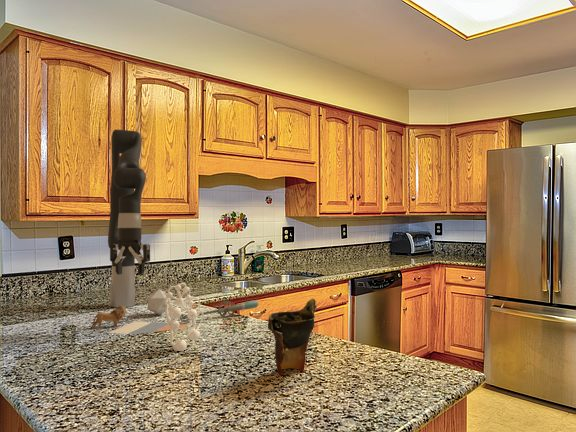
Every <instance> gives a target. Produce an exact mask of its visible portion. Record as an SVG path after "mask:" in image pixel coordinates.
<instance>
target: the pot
mask: <svg viewBox="0 0 576 432" xmlns="http://www.w3.org/2000/svg"><path fill="white" fill-rule="evenodd" d="M316 309H317V302H316V299H315V298H310V299H309V300H308V301H306V304H305V306H303V308H301V309H299V310H292V311H278V312H274V313H273V312H272V313H270V315H269V316H268V321H267V322H268V323H267V328H268V330H269V331H271V332H272V335H273V336H274V339H275V340H274V341H275V342H274V343H275V344H274V355H275V356H274V357H275V364H276V370H277V374H279V375H280V376H283V374H284V371H283V370H287V369H297V370H300V371H303V372H304V371H305V367H306V353H307V350H308V346H309V341H310V338H311V334H312V332H313V330H314V327H316V326H315V319H316V315H315V313H316Z"/></svg>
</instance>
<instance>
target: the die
mask: <svg viewBox="0 0 576 432" xmlns="http://www.w3.org/2000/svg"><path fill="white" fill-rule="evenodd" d="M167 293H168V292H165V291H163V290H161V289H158V290H155V292H153V293H152V294H149V295H148V299H147V300H148V301H147V310H149V311H150V312H153V313H155V314H156V315H158V316H161V315H162V314H165V309H166V305H165V302H164V301H165V298H166V294H167ZM171 300H172V298H167V300H166V303H168V302H172V301H171ZM170 309H171V308H168V311H170Z"/></svg>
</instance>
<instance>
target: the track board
mask: <svg viewBox="0 0 576 432" xmlns="http://www.w3.org/2000/svg"><path fill="white" fill-rule="evenodd" d="M118 323H128V324H125V325H123V326H121V327H118V328H116V329H113V330H111V331H98V330H97V331H96V330H90V331H89V333H104V334H122V335H123V334H125V335H126V334H127V335H140V334H147V333H153V332H162V331H169V330H171V328H170V325H169V323H168V322H153V321H151V322H150V321H135V320H134V321H132V320H131V321H130V320H119V321H118ZM188 325H189V324H188V323H179V328H178V329H183V328H184V327H187V326H188ZM178 329H177V330H178Z"/></svg>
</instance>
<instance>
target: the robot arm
mask: <svg viewBox="0 0 576 432" xmlns="http://www.w3.org/2000/svg"><path fill="white" fill-rule="evenodd" d="M111 134H112V135H111V179H110V192H109V195H110V198H109V201H110V202H109V203H110V204H109V206H110V208H109V209H110V210H109V211H110V212H109V213H110V214H109V223H108V234H107V235H108V236H107V246H108V248H109V261H110V262H111V283H109V307H113V308H115V309H117V308H118V307H119V306H125V307H126V308H130V307H131V308H132V307H134V306H136V305H135V304H136V298H135V297H136V284H135V283H136V278H135V277H136V272H135V271H136V267H135V265H136V261H137V263H138V264H137V275H138V276H143V275H144V273H145V265H146V263H149V262H150V261H151V245H150V244H149V243H144V244H142V213H141V207H142V206H141V203H142V202H141V201H142V194H143V190H144V187H145V184H146V180H147V175H146V172H145V170H144V169H142V168H141V167H140V156H141V151H142V136H141V134H140V132H138V131H136V130H127V129H113V131H112V133H111ZM118 250H119V252H118ZM141 250H142V252H141ZM135 259H136V261H135Z"/></svg>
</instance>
